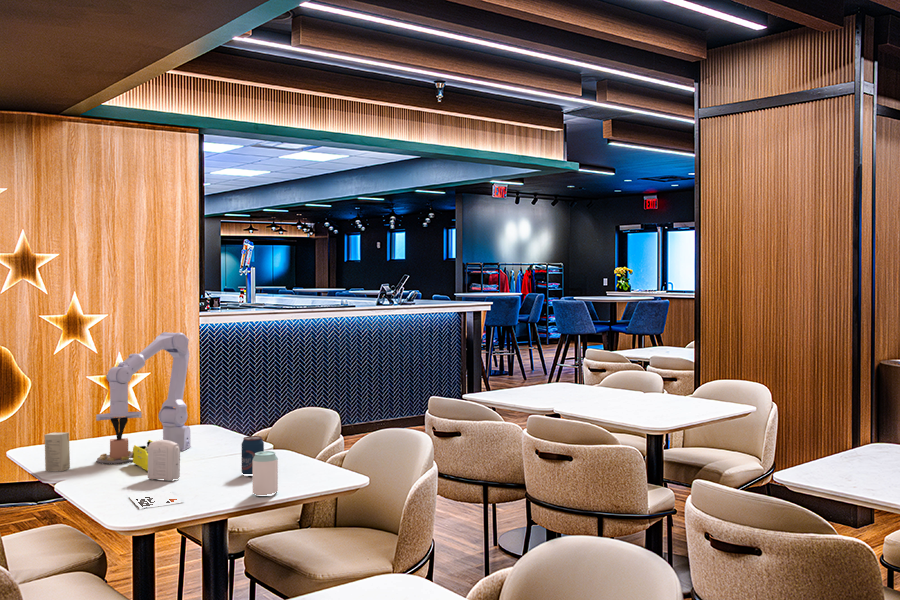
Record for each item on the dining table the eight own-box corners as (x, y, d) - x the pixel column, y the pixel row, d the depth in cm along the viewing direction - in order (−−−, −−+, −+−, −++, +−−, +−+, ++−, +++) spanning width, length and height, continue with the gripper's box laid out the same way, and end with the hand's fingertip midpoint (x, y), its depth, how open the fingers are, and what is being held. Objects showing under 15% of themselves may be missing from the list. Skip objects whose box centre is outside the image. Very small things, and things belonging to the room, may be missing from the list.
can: (254, 498, 211) (254, 456, 211) (250, 493, 218) (250, 451, 218) (279, 496, 214) (279, 454, 214) (275, 490, 220) (275, 449, 220)
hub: (147, 456, 270) (147, 443, 270) (129, 464, 256) (129, 451, 256) (109, 455, 271) (109, 443, 271) (89, 464, 257) (89, 451, 257)
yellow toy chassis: (163, 470, 247) (163, 445, 247) (146, 473, 244) (145, 447, 244) (149, 462, 260) (149, 438, 260) (132, 465, 256) (132, 440, 256)
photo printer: (182, 479, 235) (182, 439, 235) (173, 482, 231) (173, 442, 231) (154, 477, 238) (154, 438, 238) (145, 480, 234) (145, 440, 234)
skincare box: (70, 468, 250) (70, 432, 250) (62, 471, 245) (62, 434, 245) (52, 468, 250) (52, 431, 250) (44, 471, 246) (44, 434, 246)
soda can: (237, 476, 238) (237, 438, 238) (250, 471, 245) (249, 435, 245) (255, 478, 236) (255, 440, 236) (268, 473, 242) (268, 436, 242)
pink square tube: (127, 454, 267) (127, 438, 267) (128, 457, 262) (128, 440, 262) (110, 456, 265) (109, 439, 265) (110, 459, 260) (110, 442, 260)
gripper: (96, 403, 256) (96, 443, 256) (142, 400, 263) (142, 439, 263) (95, 401, 263) (95, 439, 263) (140, 398, 269) (140, 436, 269)
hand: (119, 439), depth 263 cm, fingers closed
